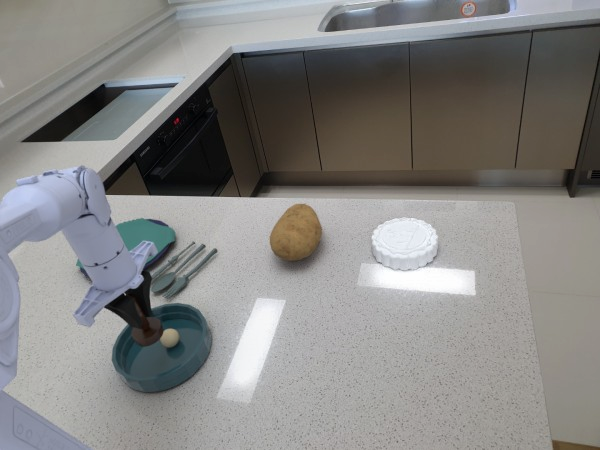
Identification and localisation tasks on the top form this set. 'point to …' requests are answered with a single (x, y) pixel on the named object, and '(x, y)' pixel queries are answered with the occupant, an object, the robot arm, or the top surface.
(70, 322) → the top surface
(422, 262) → the mooncake
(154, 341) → the wooden pestle
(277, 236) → the potato
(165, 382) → the bowl
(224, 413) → the top surface
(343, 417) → the top surface
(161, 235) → the cutlery set
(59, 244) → the top surface
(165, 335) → the dough ball
